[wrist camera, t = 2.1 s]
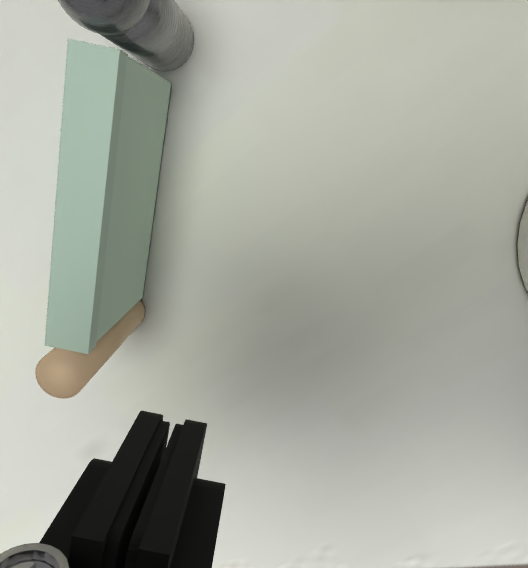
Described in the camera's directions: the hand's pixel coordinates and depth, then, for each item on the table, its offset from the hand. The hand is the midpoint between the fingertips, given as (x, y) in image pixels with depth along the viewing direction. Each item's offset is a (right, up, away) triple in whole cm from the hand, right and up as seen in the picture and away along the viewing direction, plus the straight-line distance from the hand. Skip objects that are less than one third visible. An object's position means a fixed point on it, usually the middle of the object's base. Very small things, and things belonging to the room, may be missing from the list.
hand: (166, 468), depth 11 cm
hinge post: (-3, +17, +12) cm, 21 cm away
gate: (-4, +8, +14) cm, 17 cm away
